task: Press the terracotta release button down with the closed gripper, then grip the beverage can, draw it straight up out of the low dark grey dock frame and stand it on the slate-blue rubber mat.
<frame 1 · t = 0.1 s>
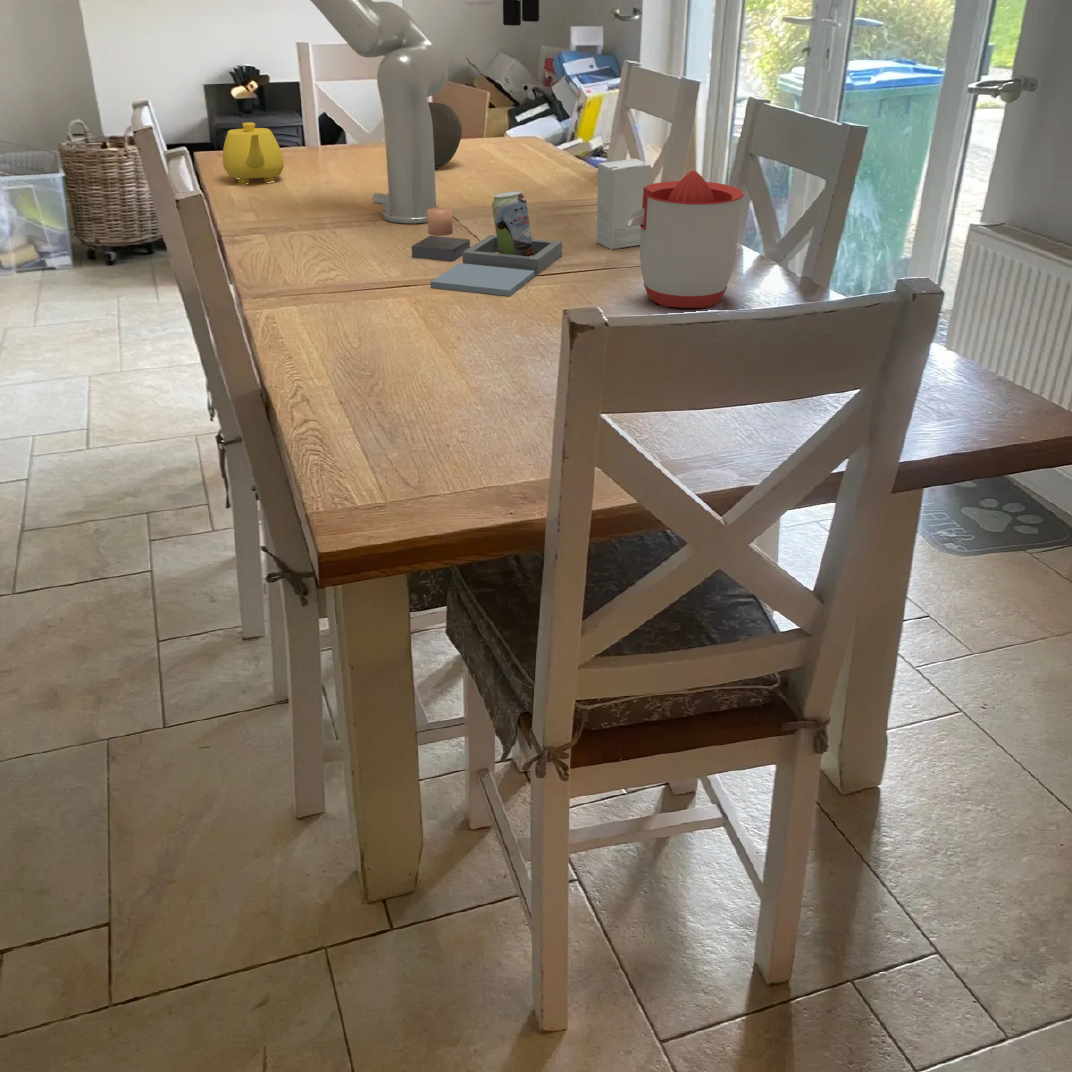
hand: (521, 23, 195), 37 cm above the table, tool pointing down, fingers open, 9 cm apart
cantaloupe: (434, 167, 266), on the table
release button: (440, 221, 192), point 6 cm above the table, slide at 0.0 cm
beverage can: (513, 262, 191), resting in dock frame
teapot: (256, 182, 251), on the table
dock frame: (513, 260, 191), on the table
skincare box: (621, 245, 202), on the table
button base: (441, 253, 195), on the table
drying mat: (483, 282, 180), on the table
citrus juicer: (678, 300, 172), on the table
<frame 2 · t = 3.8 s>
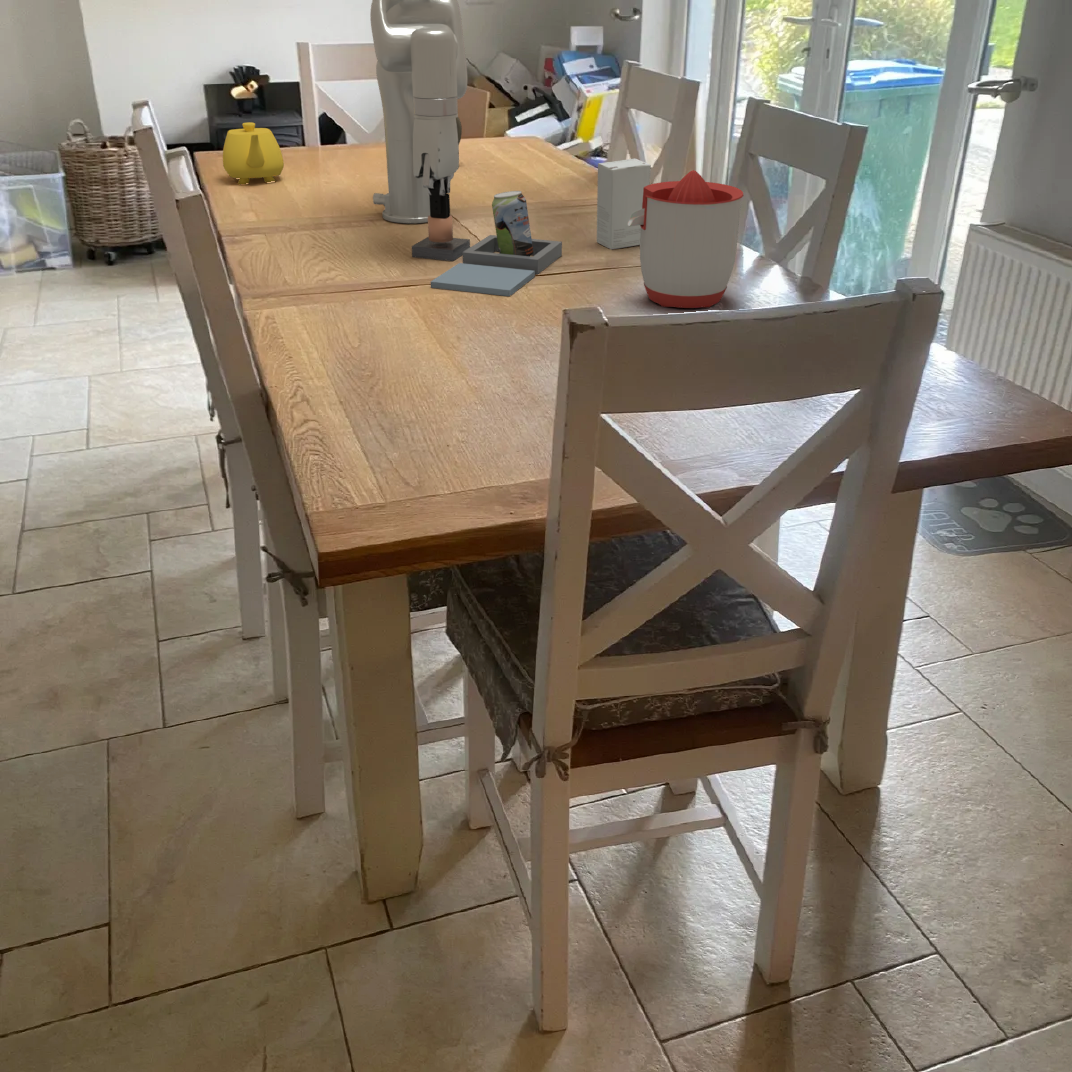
hand: (440, 216, 192), 7 cm above the table, tool pointing down, fingers closed
release button: (440, 228, 193), point 5 cm above the table, slide at 1.2 cm
everything else where it was.
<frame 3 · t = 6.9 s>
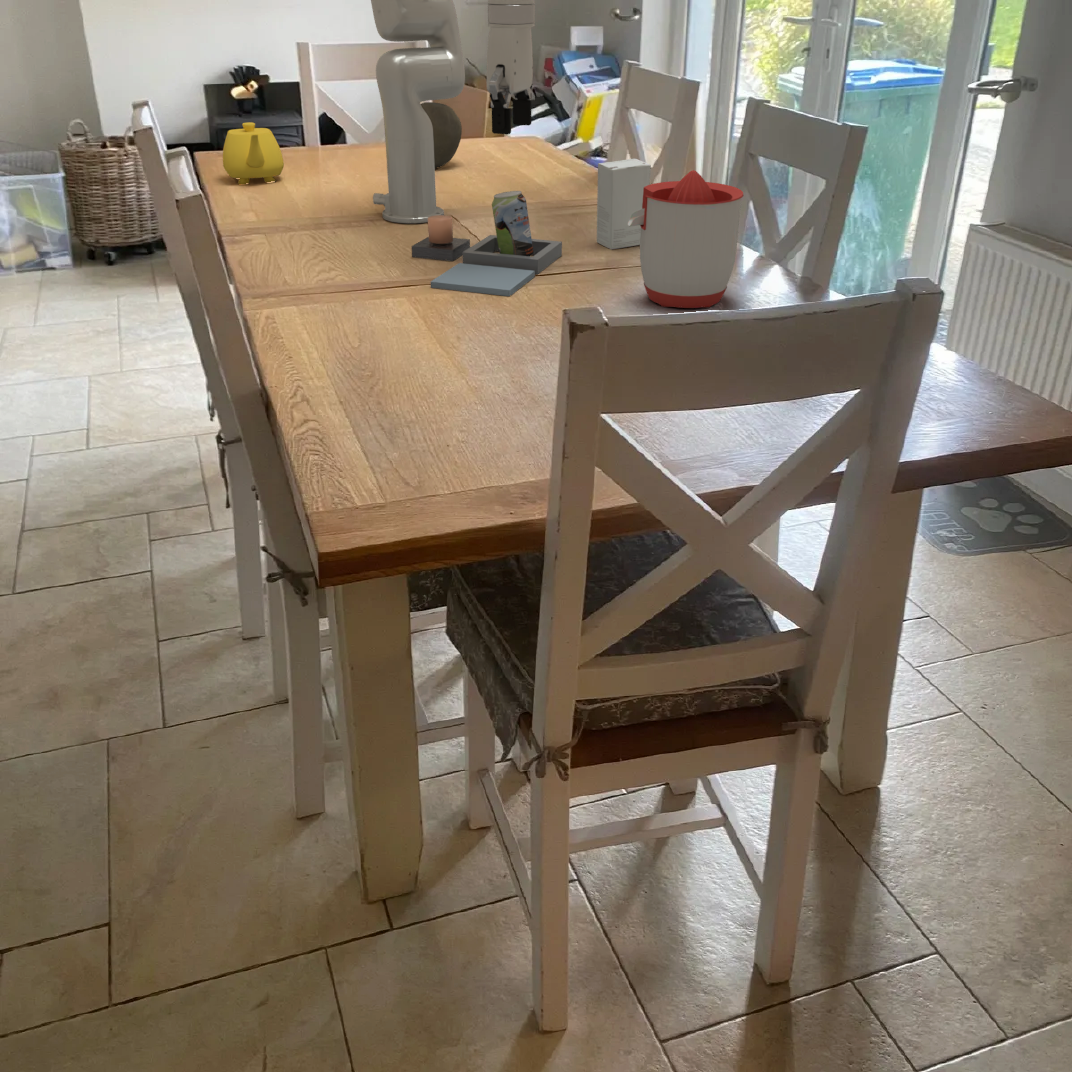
hand: (512, 129, 180), 22 cm above the table, tool pointing down, fingers open, 9 cm apart
nothing on the table moved.
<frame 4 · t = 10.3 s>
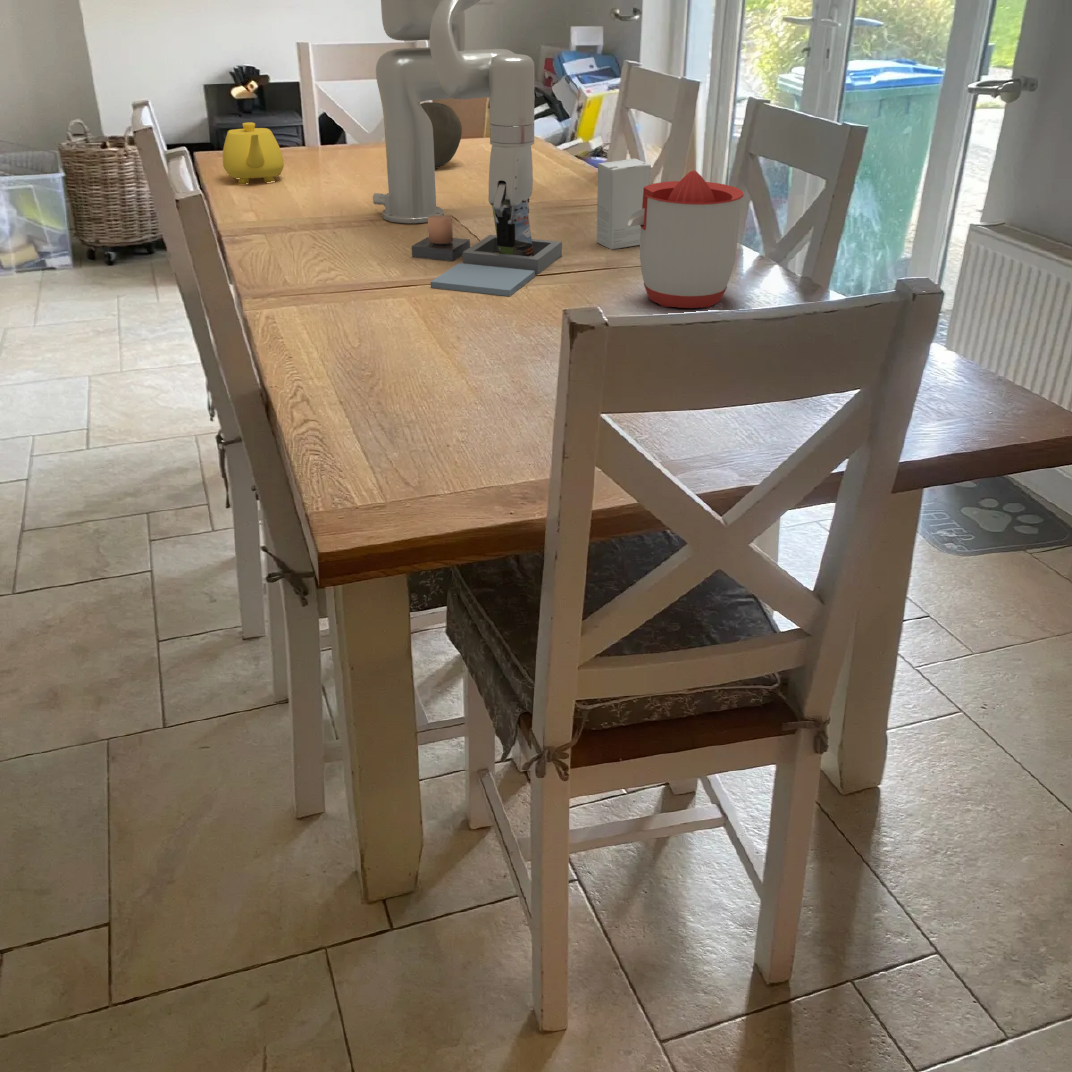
hand: (512, 240, 189), 4 cm above the table, tool pointing down, fingers closed on beverage can, 6 cm apart
beverage can: (513, 262, 191), resting in dock frame, touching gripper
everything else where it was.
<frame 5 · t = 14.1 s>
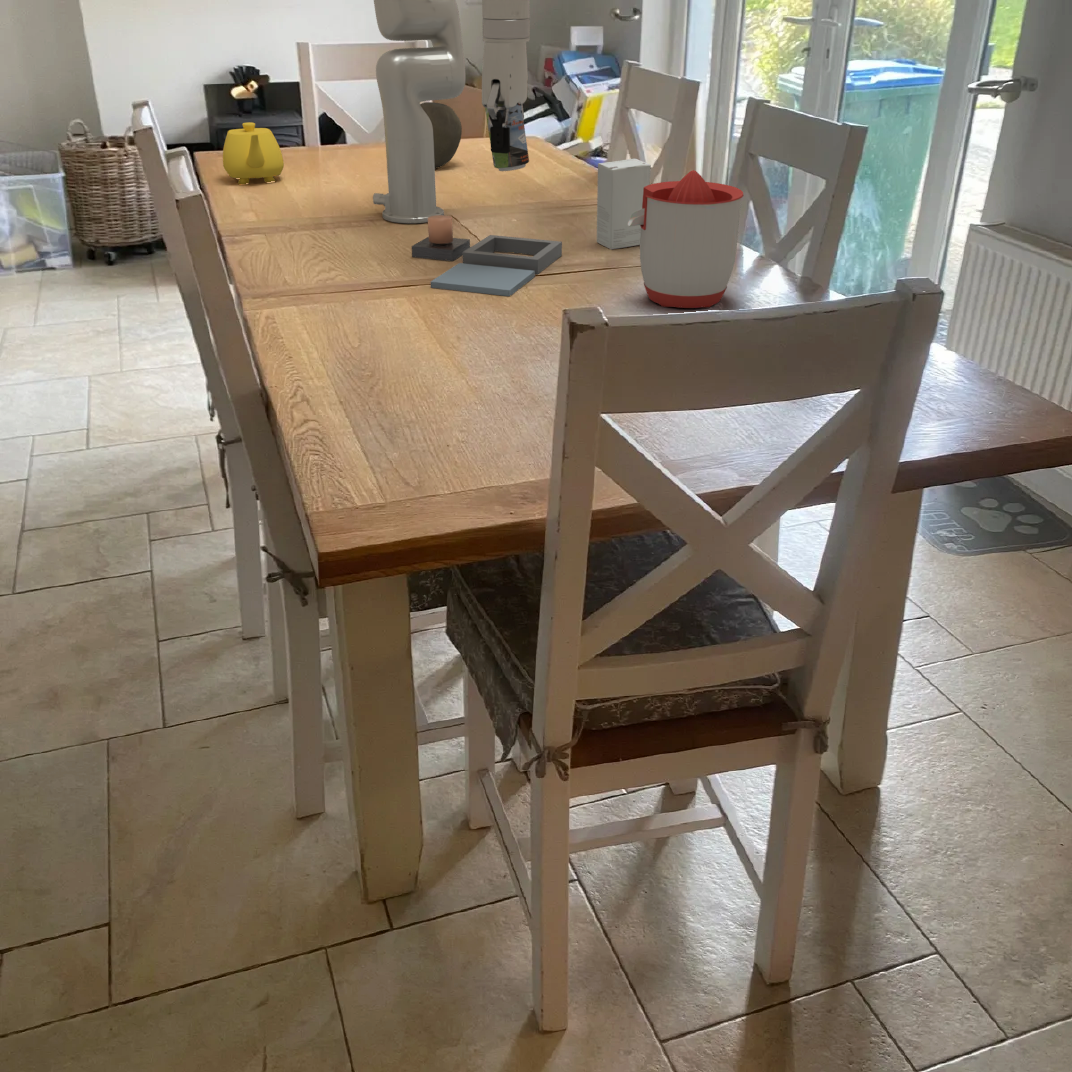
hand: (507, 148, 180), 20 cm above the table, tool pointing down, fingers closed on beverage can, 6 cm apart
beverage can: (507, 171, 181), point 16 cm above the table, touching gripper
everything else where it was.
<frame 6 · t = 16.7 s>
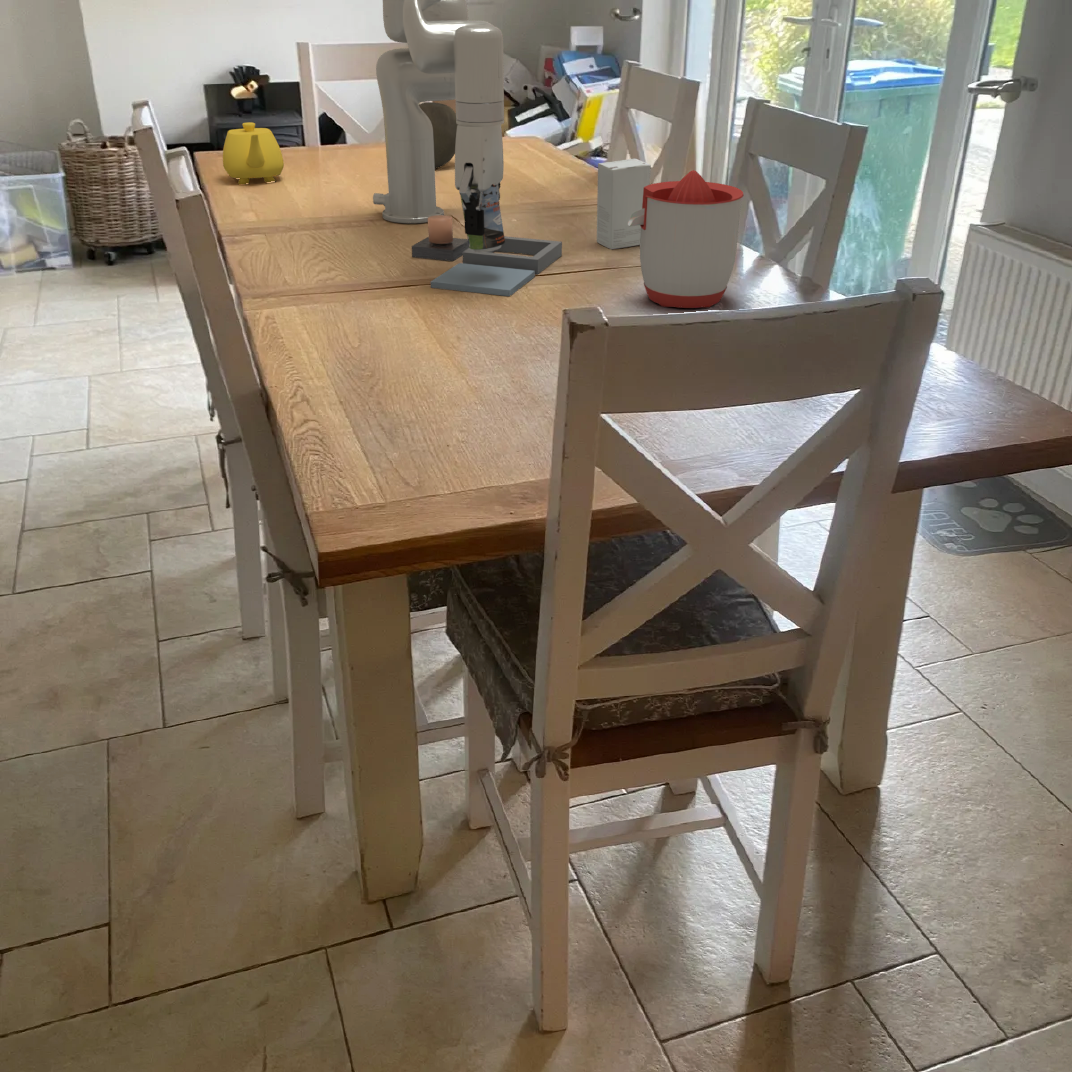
hand: (482, 228, 175), 9 cm above the table, tool pointing down, fingers closed on beverage can, 6 cm apart
beverage can: (483, 251, 177), point 5 cm above the table, touching gripper
everything else where it was.
when the fingers open (6 cm above the table, at t = 18.2 s): beverage can drops 1 cm, resting on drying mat.
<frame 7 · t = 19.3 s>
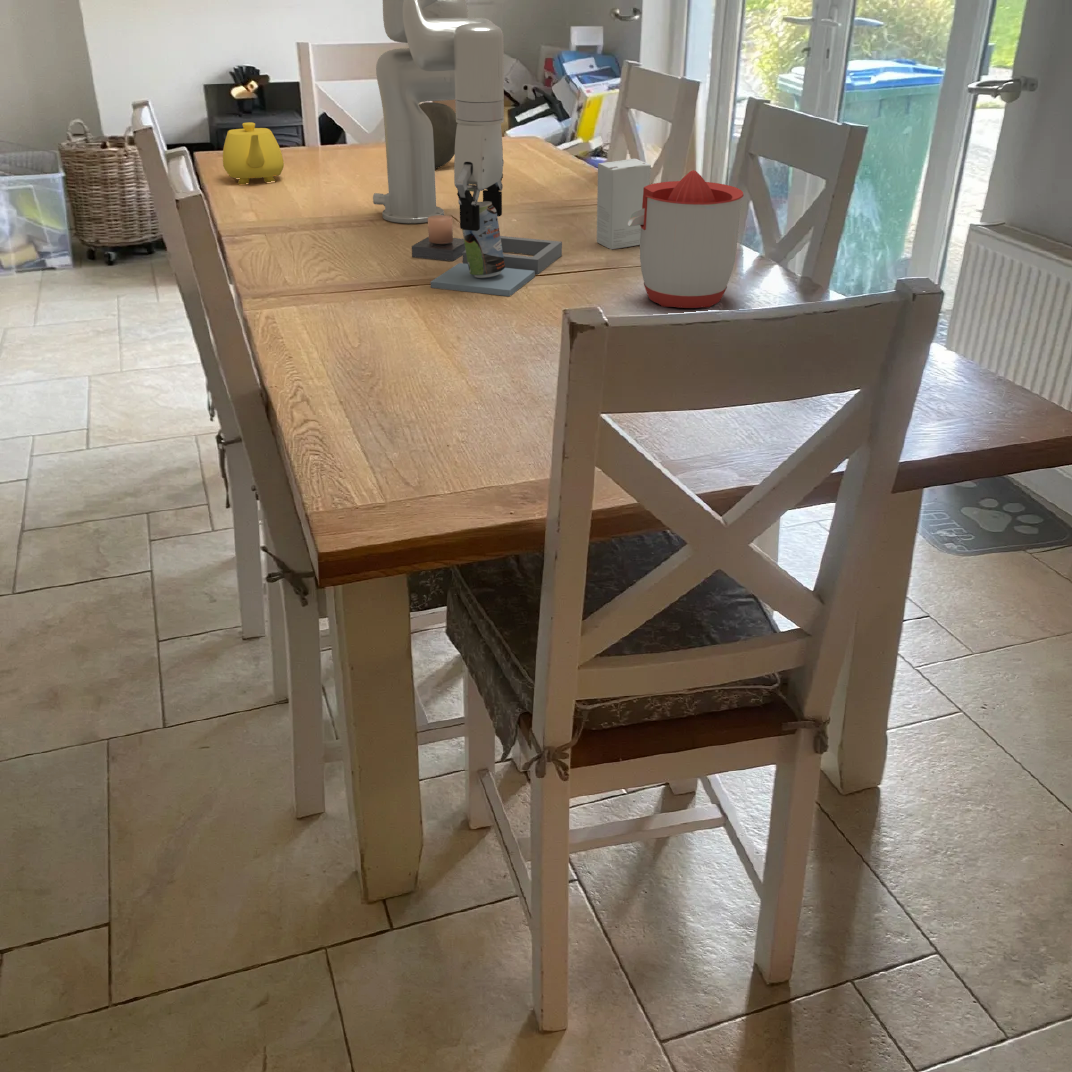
hand: (481, 222, 175), 10 cm above the table, tool pointing down, fingers open, 9 cm apart
beverage can: (483, 277, 179), point 1 cm above the table, touching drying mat
everything else where it was.
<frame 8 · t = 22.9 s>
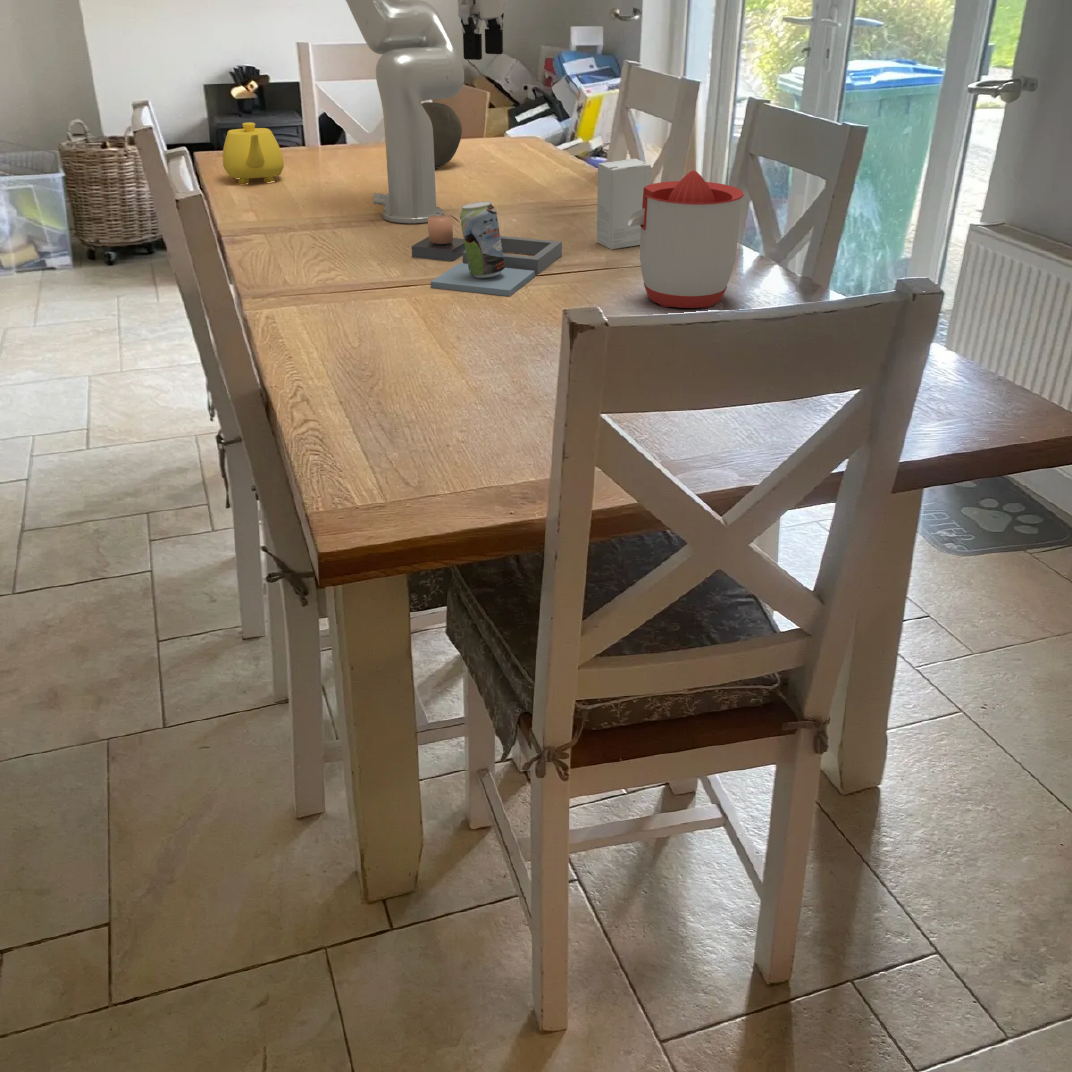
hand: (483, 56, 186), 32 cm above the table, tool pointing down, fingers open, 9 cm apart
nothing on the table moved.
at the end: beverage can inside the target area on the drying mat (0.1 cm from its centre), point 0.8 cm above the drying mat's base; beverage can tilted 0°; release button slide at 1.4 cm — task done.
